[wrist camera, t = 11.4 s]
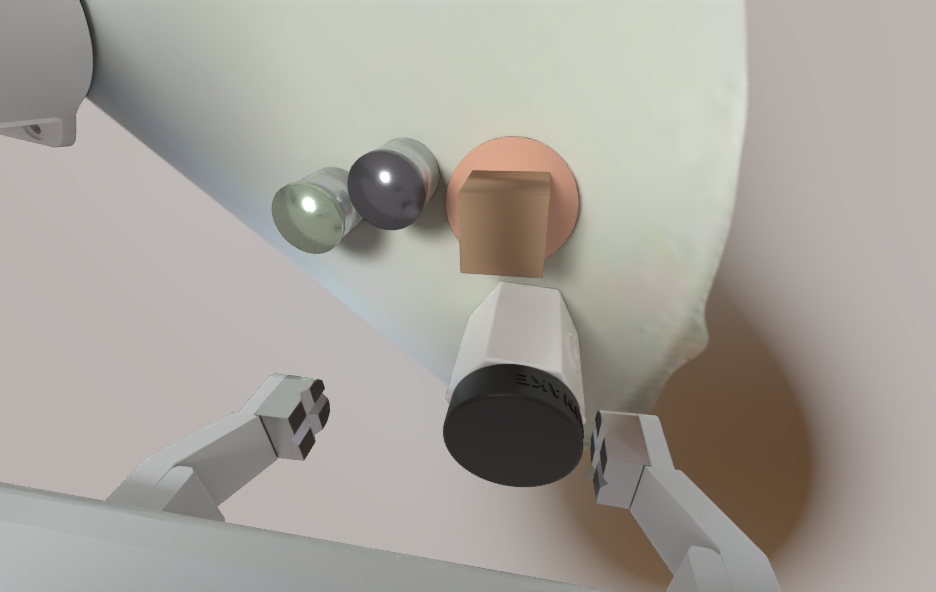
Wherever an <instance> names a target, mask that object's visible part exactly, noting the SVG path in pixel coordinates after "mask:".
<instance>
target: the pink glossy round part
mask: <svg viewBox="0 0 936 592" xmlns="http://www.w3.org/2000/svg"><path fill="white" fill-rule="evenodd" d="M472 170H488V171H534V172H550V199H549V210H548V222H547V233H546V244H545V256H544V259H546V258H548V257H549V256H551V255H552V254H554V253H555V252H556V251H557V250H558V249H559V248H560V247H561V246H562V245H563V244H564V243H565V242H566V240H567V239H568V237H569V236H570V234H571V232H572V230H573V228H574V225H575V223H576V220H577V215H578V207H579V199H578V191H577V186H576V182H575V179H574V176H573V174H572V172H571V170H570V168H569V166H568V165H567V164H566V162H565V161H564V160H563V158H562V157H561V156H560V155H559V154H558V153H557V152H555V151H554V150H553V149H551V148H550V147H549V146H547V145H545V144H543V143H541V142H539V141H536V140H534V139H530V138H526V137H518V136H508V137H501V138H496V139H493V140H490V141H487V142H485V143H483V144H481V145H479V146H478V147H476V148H475V149H473V150H472V151H471V152H470V153H469V154H468V155H467V156H465V158H464V159H463V160H462V161H461V163H460V164H459V165H458V166H457V168H456V169H455V171H454V173H453V175H452V177H451V179H450V181H449V185H448V188H447V194H446V212H447V217H448V221H449V224H450V226H451V229H452V231H453V233H454V235H455V236H456V238H457V239H458V241H459V218H458V192H459V190H460V189H461V187H462V186H463V184H464V182H465V181H466V179H467V178H468V176H469V175H470V173H471V172H472Z"/></svg>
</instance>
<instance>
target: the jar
mask: <svg viewBox="0 0 936 592" xmlns="http://www.w3.org/2000/svg"><path fill="white" fill-rule="evenodd" d="M446 400H447V401H448V403H449V408H448V412H447V415H446V418H445V422H444V426H443V437H444V442H445V444H446V447H447V449H448V451H449V452H450V454H451V455H452V457H453V458H454V459H455V460H456V461H457V462H458V463H459V464H460V465H461V466H462V467H464V468H465V469H466V470H468V471H469V472H471V473H472V474H474V475H476V476H478V477H480V478H482V479H485V480H488V481H490V482H494V483H497V484H502V485H507V486H513V487H535V486H542V485H546V484H550V483H553V482H555V481H558V480H560V479H562V478H564V477H565V476H567V475H568V474H569V473H571V472H572V471H573V470H574V468H575V467H576V466H577V465H578V463H579V461H580V459H581V457H582V453H583V439H584V430H583V425H584V424H585V423H586V414H585V403H584V393H583V383H582V372H581V362H580V352H579V341H578V333H577V331H576V329H575V326H574V324H573V321H572V319H571V317H570V314H569V312H568V310H567V307H566V305H565V303H564V300H563V298H562V295H561V293H560V291H559V290H557V289H551V288H544V287H537V286H530V285H523V284H516V283H509V282H500V283H499V284H498V285H497V286H496V287H495V288H494V290H493V291H492V292H491V293H490V294H489V295H488V296H487V298H486V299H485V300H484V301H483V302H482V303H481V304H480V306H479V307H478V308H477V309H476V310H475V311H474V312H473V313H472V315H471V316H470V317H469V320H468V323H467V327H466V330H465V333H464V337H463V340H462V343H461V347H460V350H459V353H458V356H457V360H456V363H455V366H454V370H453V373H452V376H451V380H450V383H449V386H448V390H447V393H446Z"/></svg>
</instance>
